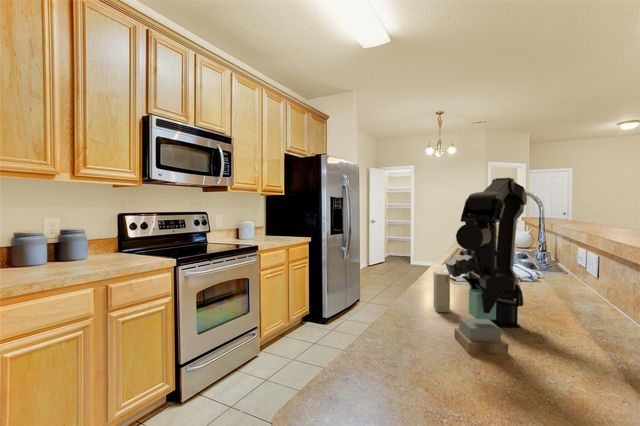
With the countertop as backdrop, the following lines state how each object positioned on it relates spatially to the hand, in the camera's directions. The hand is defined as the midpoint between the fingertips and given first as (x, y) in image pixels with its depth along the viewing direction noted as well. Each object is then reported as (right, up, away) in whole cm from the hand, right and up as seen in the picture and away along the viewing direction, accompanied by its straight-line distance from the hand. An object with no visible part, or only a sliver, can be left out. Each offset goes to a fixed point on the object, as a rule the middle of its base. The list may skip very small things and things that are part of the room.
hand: (482, 309), depth 80 cm
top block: (0, -7, +1) cm, 7 cm away
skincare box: (0, -8, +28) cm, 30 cm away
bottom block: (0, -10, +1) cm, 10 cm away
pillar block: (0, -2, 0) cm, 2 cm away
